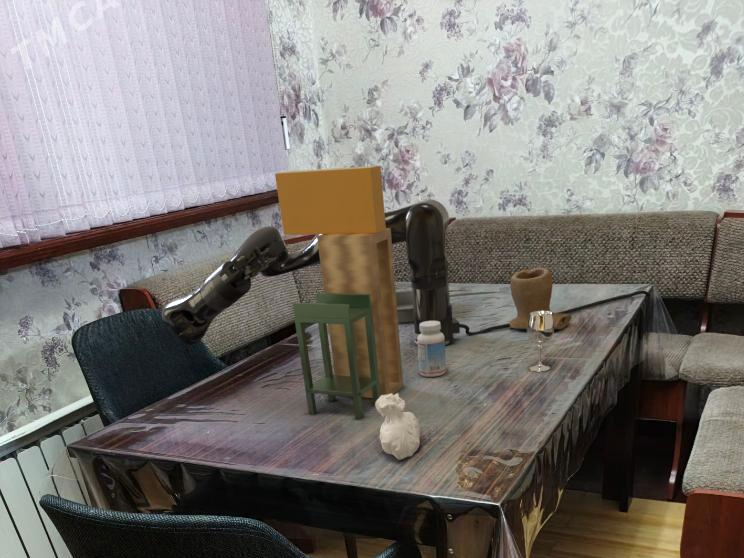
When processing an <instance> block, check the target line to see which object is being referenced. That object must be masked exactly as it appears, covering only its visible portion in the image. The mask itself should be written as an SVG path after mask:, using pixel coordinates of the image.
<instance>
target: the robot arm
mask: <svg viewBox="0 0 744 558" xmlns="http://www.w3.org/2000/svg"><path fill="white" fill-rule="evenodd" d="M384 213H385V225H386V228H391V240H392V246H393V245H395V244H400V243H405V248H406V259H407V263H408V266H409V270H410V283H411V284H410V285H411V290H412V300H413V314H414V322H413V328H414V333H413V338H414V345H415V346H416V347H418V344H417V338H418V336H419V335H420V334H421V332H420V330H419V329H420V328H419V324H420V323H422V322H425V321H439V322H440V324H441V328H440V329H441V330H440V332H441V333H443V335H444V339H445V346H448V345H452V344H454V335H455V334H460V333H461V329H465V331H464V332H465V334H466V335H467V336H475V335H479V334H480V335H481V334H486V333H489V332H492V331H497V330H502V329H507V328H511V327H510V325H509V323H504V324H498V325H493V326H489V327H487V328H484V329H481V330H478V331H470V327H469V326H468V325H467V324H463V323H460V321H459V320H458V319H457V318H456V317H453V305H452V304H451V301H450V300H451V299H450V280H449V279H450V276H449V260H448V258H447V256H446V243H445V233H446V231H447V229H448V227H449V223H450V214H449V211H448V209H447V208H446V206H445V205H444V204H443V203H441V201H439V200H436V199H431V198H427V199H423V200H421V201H419V202H416V203H414V204H411V205H408V206H404V207H402V208H398V209H396V210H391V211H386V212H385V211H384ZM319 235H322V234H315V235H314V237H313V238H312V239H311V240H310V241H309V243H307V245H306V246H304V247H303V248H301V249H299V250H297V251H293V252H290V251H289V249H288V247H287V244H286V242H285V239H284V238H283V236H282V233H281V232H280V230H279V229H278V227H276V226H273V225H266V226H262V227H260V228H257V229H255V230H254V231H253V232H252V233H250V235H248V236H247V237H246V238H245V240H244V241H243V242H242V243H241V244H240V245H239V246H238V248H237V249H236V250H235V251H234V252H233V254H232V255H231V256H230V257H229V259H228V260H227V261H225V262H223V264H221V265H220V266H219V267H218V268H217V269H215V271H214V272H212V273H211V274H210V275H208V277H206V279H205V280H204V281H203V283H202V284H201V285H200V286H199V287H198V288H196V289H195V290H193V292H191V293H190V294H188V295H185V296H183V297H180V298H177V299H176V298H175V299H173V300H171V301H170V302H168V303H167V304H165V306H163V309H162V311H161V319H162V321H163V323H164V324H165V325H166V326H167V327H168V328H169V329H170V330H171V331H172V333H174V335H175V336H176V337H177V338H178V339H179V340H180V341H181V343H183V344H184V345H186V346H194V345H197V344H198V343H199V342H201V341H202V339H203V338H204V337H205V335H206V333H207V331H208V330H209V328H210V326H211V324H212V323H213V321H214V320H215V318H217V316H219V315H220V314H222V313H223V311H225V310H226V309H228V308H230V307H232V306H233V305H234V304H235V303H237V302H238V301H239V300H241V298H243V297H244V296H245V295H246V294H247V293H249V291H250V290H251V288H252V279H255V277H257V276H258V275H259V274H260V276H262V277H264V278H271V277H272V278H273V277H277V276H278V277H279V276H282V275H286V274H288V273H292V272H295V271H299V270H302V269H305V268H309V267H312V266H318V265H321V264H320V256H319V248H318V241H317V236H319ZM638 295H644V296H646V297H651V293H650V292H649V291H647V290H641V289H640V290H637V291H633V292H631V293H627V294H621V295H618V296H613V297H610V298H606V299H601V300H597V301H594V302H590V303H587V304H584V305H580V306H576V307H573V308H569V309H565V310H561V311H557V313H559V314H571V313H575V312H578V311H581V310H585V309H588V308H593V307H596V306H600V305H604V304H606V303H611V302H614V301H619V300H623V299H628V298H632V297H635V296H638ZM460 328H461V329H460Z"/></svg>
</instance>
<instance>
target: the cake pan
mask: <svg viewBox="0 0 744 558" xmlns="http://www.w3.org/2000/svg"><path fill="white" fill-rule="evenodd" d="M396 303H397V315H398V324H405V323H414V314H413V300H412V289H409V290H397V291H396Z"/></svg>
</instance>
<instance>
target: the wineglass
mask: <svg viewBox="0 0 744 558" xmlns="http://www.w3.org/2000/svg"><path fill="white" fill-rule="evenodd" d="M550 311H551V310H550ZM550 311H535V312H531V313H530V315H529V319H528V324H527V329H526V334H527V338H528V339H529V340H530V341H531V342H533V343H535V344H537V351H538V362H537V364H535V365H531V366H529V370H530V371H533V372H546V371H548V370H550V369H551V367H550V366H549V365H546V364H543V363H542V351H543V345H542V344H545V343H547V342H549V341H550V340H551V339H552V338H553V336H554V333H555V329H554V321H553V316H552V313H553V312H552V311H551V312H550Z"/></svg>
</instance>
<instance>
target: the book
mask: <svg viewBox="0 0 744 558" xmlns="http://www.w3.org/2000/svg"><path fill="white" fill-rule="evenodd" d="M274 177H275V184H276V190H277V196H278V203H279V204H278V205H279V211H280V216H281V224H282V231H283V235H284V236H304V235H305V236H307V235H309V236H310V235H316V234H367V233H379V232H382V231H384V230H386V225H385V201H384V200H385V199H384V191H383V178H382V166H381V165H367V166H350V167H335V168H320V169H319V168H318V169H303V170H301V169H300V170H286V171H281V172H276V173H274Z"/></svg>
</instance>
